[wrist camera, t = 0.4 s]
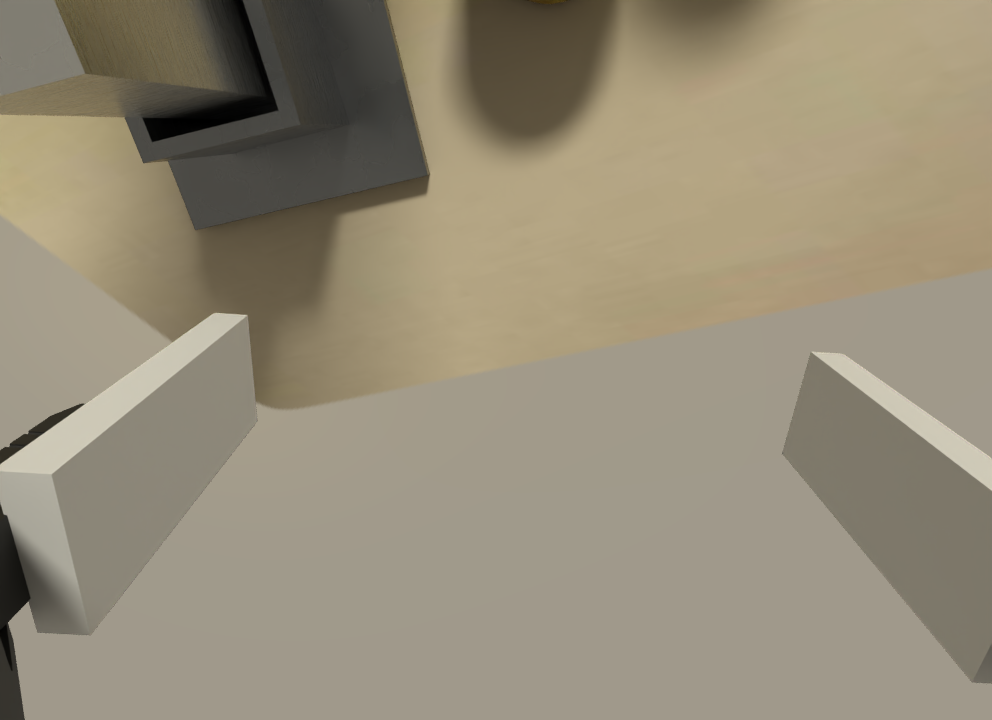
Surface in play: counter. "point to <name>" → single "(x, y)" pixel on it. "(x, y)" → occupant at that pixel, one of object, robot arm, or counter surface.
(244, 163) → the stand
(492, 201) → the counter surface
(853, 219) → the counter surface
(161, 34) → the column
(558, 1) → the mug
